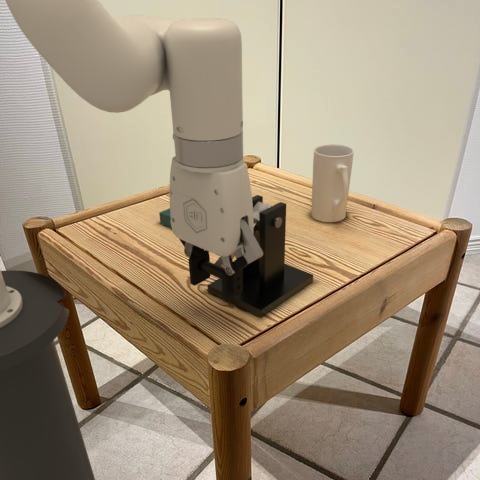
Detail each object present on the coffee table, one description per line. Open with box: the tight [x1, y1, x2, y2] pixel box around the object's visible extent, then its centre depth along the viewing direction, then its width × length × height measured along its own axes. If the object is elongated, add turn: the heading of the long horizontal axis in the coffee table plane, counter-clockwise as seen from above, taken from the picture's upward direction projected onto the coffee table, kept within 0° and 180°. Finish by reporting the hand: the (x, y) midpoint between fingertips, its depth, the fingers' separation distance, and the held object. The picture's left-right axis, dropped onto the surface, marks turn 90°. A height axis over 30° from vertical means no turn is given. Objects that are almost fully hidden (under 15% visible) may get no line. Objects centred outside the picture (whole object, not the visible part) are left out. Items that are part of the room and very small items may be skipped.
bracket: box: [207, 194, 314, 318], centre depth 71 cm, size 12×10×13 cm
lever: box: [198, 202, 272, 279], centre depth 67 cm, size 12×5×2 cm, turn 139°
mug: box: [310, 143, 355, 223], centre depth 90 cm, size 10×7×12 cm, turn 12°
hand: (216, 287), depth 67 cm, fingers closed on lever, 5 cm apart
